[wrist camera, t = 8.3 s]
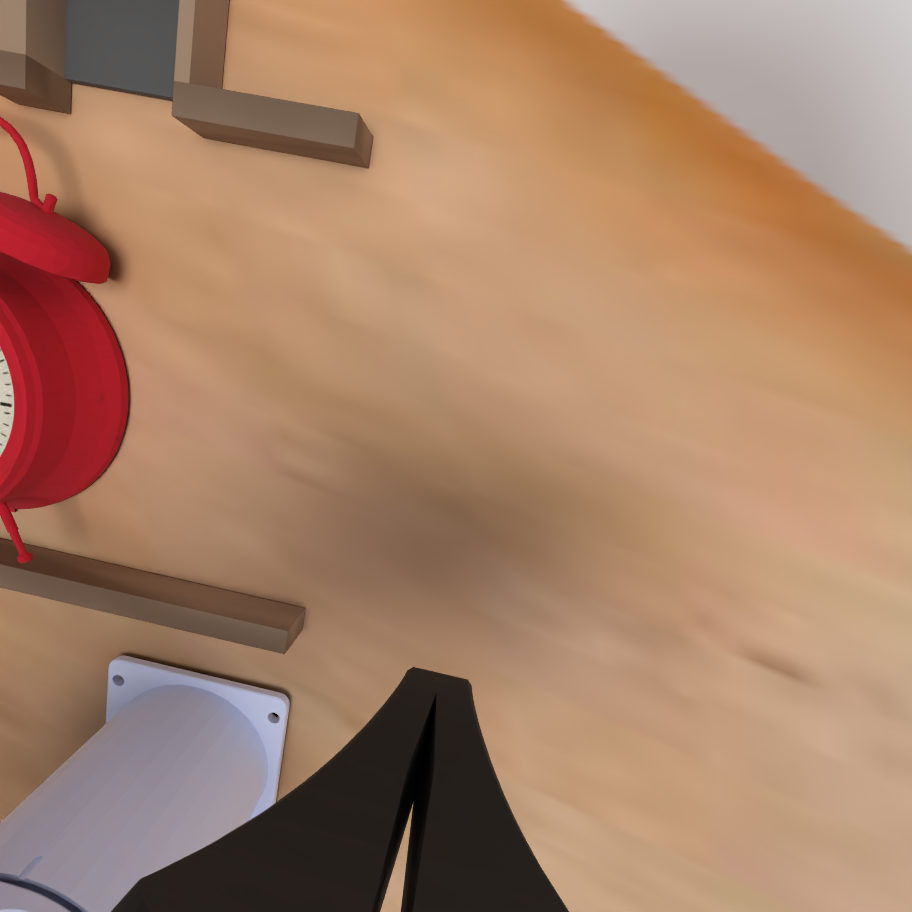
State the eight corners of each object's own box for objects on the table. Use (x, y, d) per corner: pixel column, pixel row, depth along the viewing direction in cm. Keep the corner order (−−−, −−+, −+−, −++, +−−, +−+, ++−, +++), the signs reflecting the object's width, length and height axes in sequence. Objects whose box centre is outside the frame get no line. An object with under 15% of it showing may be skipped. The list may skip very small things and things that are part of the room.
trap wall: (302, 629, 22) (276, 664, 19) (-157, 523, 23) (-235, 544, 21) (372, 136, 18) (352, 102, 15) (-187, 36, 19) (-290, -10, 16)
